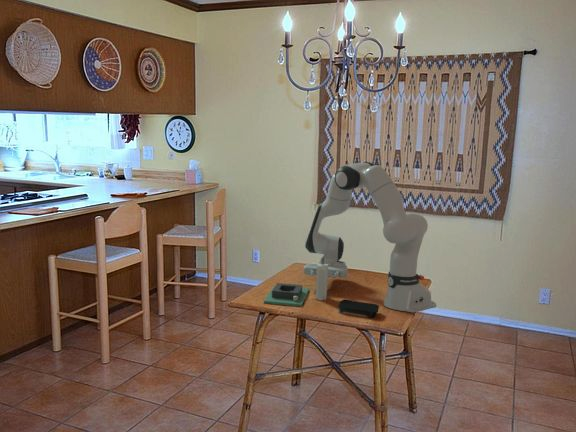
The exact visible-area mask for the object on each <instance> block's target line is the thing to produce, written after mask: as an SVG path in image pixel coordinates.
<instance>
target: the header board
mask: <svg viewBox="0 0 576 432" xmlns="http://www.w3.org/2000/svg"><path fill="white" fill-rule="evenodd" d="M309 291H310V288H306V287H303V285H302V284H294V283H293V284H291V283H282V282H281V283H280V282H278V283H276V284H275V285H274V286H273V287H272V289H271V290H270V292H269V293H268V294H267V296H266V297H265V299H263V304H267V305H268V304H269V305H278V306H279V305H280V306H288V307H290V306H291V307H302V306H303V303H304V302H305V299H307V298H306V297H307V296H308V293H309Z"/></svg>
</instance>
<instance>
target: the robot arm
mask: <svg viewBox="0 0 576 432" xmlns="http://www.w3.org/2000/svg"><path fill="white" fill-rule="evenodd" d="M362 188H365V189H366V190H367V191H368V193H369V195H370V197H371V199H373V201H374V204H375V205H376V207H377V209H378V211H379V213H380V215H381V220H382V222H383V228H382V233H383V237H384V239H385V240H386V241H387V242H388V243H390V244H395V245H394V247H393V250H392V251H391V254H390V257H389V258H390V259H389V271H388V275H387V290H386V293H385V298H384V301H383V306H385V307H386V308H388V309H391V310H395V311H402V312H408V313H413V314H414V313H417V312H423V311H425V310H431V309H434V308H437V303H436V302H435V301H434V300H432V294H431V291H430V290H429V289H428V288H427V287H425V285H423V284H422V283H421V282H420V281H424V280H425V276H424V275H422V274H418V273H417V269H418V267H417V266H418V259H419V253H420V249H421V246H422V243H423V239H424V236H425V234H426V233H427V232H428V228H429V227H428V225H429V224H428V221H427V219H426V217H424V216H423V215H421V214H417V213H409V214H407V213H406V209H405V207H404V203H403V202H404V197H403V196H402V194H401V192H400V190H399V189H398V187H397V186H396V184H395V183H394V181H393V179H392V178H391V176H390V175H389V173H387V171H386V170H385V169H384V168H383V167H382V166H381V165H377V164H374V163H373V162H367V161H364V162H357V163H355V162H354V163H351V164H347V165H343V166H341V167H339V168H338V169H337V170H336V171H335V173H334V174H333V175H332V176H331V178H330V182H329V185H328V189H327V195H326V198H325V200H324V201H322V202H320V203H319V205H318V206H317V209H316V211H315V212H316V213H315V214H314V217H313V220H312V224H311V226H310V230H309V232H308V234H307V236H306V239H305V242H304V247H305V250H307V251H308V253H311V254H320V255H322V257H324V264H328V278H331V277H332V278H333V279H337V278H348V266H347V265H346V264H347V263H346V262H345V261H341V259H342V257H343V254H344V249H345V247H344V246H345V243H344V241H343V239H342V238H341V237H340V236H338V235H337V236H336V235H330V234H325V233H320V232H319V231H320V227H321V224H322V221H323V220H324V219H325V218H328V217H332V216H333V217H334V216H338V215H341V214H343V213H345V212H346V211H347V210H348V209H349V207H350V204H351V200H352V194H353V193H352V192H353V190H354V189H362ZM318 263H321V259H319V262H318ZM318 263H307V264H305V265H304V266H303V267H302V268H303V271H302V274H303V275H306V276H311V277H316V275H317V265H318Z"/></svg>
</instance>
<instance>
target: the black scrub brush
mask: <svg viewBox="0 0 576 432" xmlns="http://www.w3.org/2000/svg"><path fill="white" fill-rule="evenodd" d="M337 307H338V308H337V312H338V313H340V314H344V315H350V316H356V317H361V318H362V317H363V318H367V319H374V318H375V317H376V316H377V313H378V312H379V307H380V306H379V305H378V304H377V303H370V302H363V301H357V300H350V299H342V300H339V302H338V306H337Z"/></svg>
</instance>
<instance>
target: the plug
mask: <svg viewBox="0 0 576 432" xmlns="http://www.w3.org/2000/svg"><path fill="white" fill-rule="evenodd" d="M320 260H321V263H319V262H318V263H317V264H318V265H317V275H315V300H318V301H326V299H327V296H328V294H327V293H328V278H329V277H328V264H324V257H323V256H321V258H320Z"/></svg>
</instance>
